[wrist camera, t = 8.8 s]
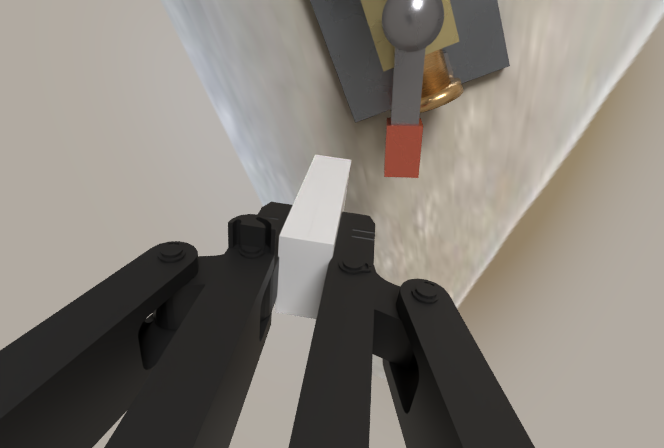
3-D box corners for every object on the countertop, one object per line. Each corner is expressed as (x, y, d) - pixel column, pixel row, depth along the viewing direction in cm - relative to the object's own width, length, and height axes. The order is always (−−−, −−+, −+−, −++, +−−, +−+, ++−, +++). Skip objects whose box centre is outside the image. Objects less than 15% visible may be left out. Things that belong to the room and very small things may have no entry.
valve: (297, -40, 36) (270, -53, 27) (469, -127, 32) (500, -173, 23) (356, 119, 42) (348, 149, 33) (506, 63, 38) (541, 82, 29)
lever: (383, -16, 28) (383, -17, 25) (443, -17, 27) (448, -18, 25) (375, 165, 34) (375, 176, 32) (424, 166, 33) (427, 178, 31)
